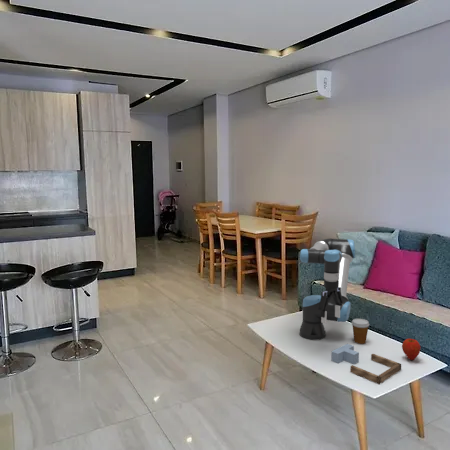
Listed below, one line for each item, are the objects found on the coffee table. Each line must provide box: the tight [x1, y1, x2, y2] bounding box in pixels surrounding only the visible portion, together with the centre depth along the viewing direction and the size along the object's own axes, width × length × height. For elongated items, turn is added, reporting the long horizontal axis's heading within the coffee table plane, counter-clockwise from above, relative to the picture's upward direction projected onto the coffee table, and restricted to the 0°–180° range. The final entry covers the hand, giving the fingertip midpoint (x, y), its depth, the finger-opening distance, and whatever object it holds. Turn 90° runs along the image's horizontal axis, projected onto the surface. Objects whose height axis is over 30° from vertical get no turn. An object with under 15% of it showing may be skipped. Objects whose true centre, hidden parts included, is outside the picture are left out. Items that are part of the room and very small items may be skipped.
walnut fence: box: [350, 353, 402, 385], centre depth 193 cm, size 15×20×3 cm
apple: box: [401, 338, 422, 361], centre depth 203 cm, size 9×8×11 cm
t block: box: [330, 343, 360, 365], centre depth 205 cm, size 10×14×5 cm
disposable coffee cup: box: [351, 318, 370, 345], centre depth 225 cm, size 10×10×12 cm
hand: (330, 320), depth 211 cm, fingers open, 11 cm apart
